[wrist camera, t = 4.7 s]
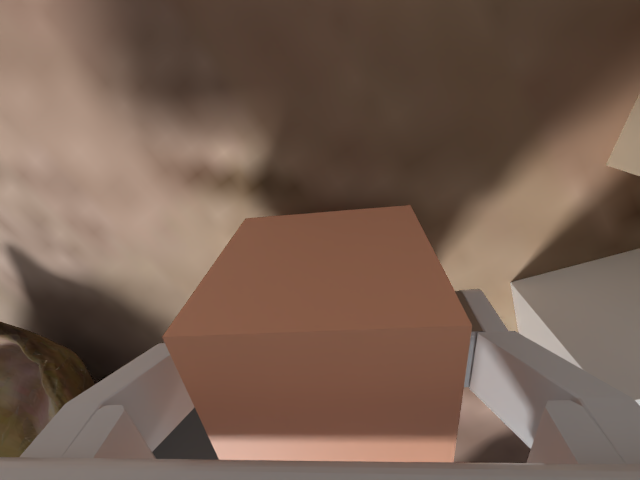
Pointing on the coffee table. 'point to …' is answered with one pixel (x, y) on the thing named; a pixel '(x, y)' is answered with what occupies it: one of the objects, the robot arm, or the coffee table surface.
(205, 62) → the coffee table surface
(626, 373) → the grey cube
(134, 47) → the coffee table surface
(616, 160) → the birch cube
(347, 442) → the terracotta cube
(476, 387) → the robot arm
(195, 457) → the black cube
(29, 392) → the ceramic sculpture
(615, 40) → the coffee table surface
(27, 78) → the coffee table surface
